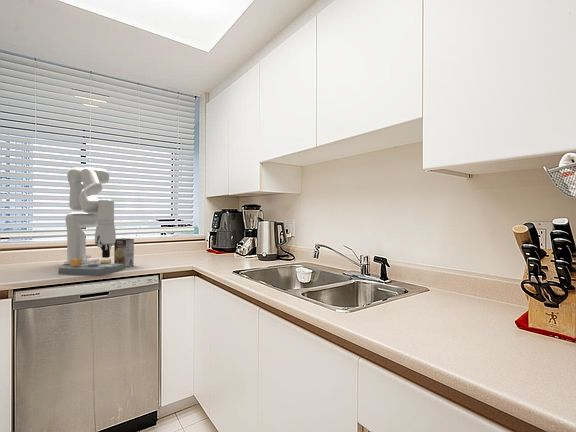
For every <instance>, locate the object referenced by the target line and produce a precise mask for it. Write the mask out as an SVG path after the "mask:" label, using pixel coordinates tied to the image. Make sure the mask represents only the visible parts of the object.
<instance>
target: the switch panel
mask: <svg viewBox="0 0 576 432" xmlns="http://www.w3.org/2000/svg"><path fill="white" fill-rule="evenodd" d="M123 269H125V270H126V267H125V264H114V263H110V264H101V262H96V263H91V264H85V263H83V264H82V265H81V266H70V265H69V266H68V265H67V266H63V267H58V274H59V275H74V274H77V275H79V276H81V275H82V276H103V275H107V274H112V273H115V272H119V271H120V270H121V271H124V270H123ZM77 275H76V276H77Z"/></svg>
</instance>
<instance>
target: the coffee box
mask: <svg viewBox="0 0 576 432" xmlns="http://www.w3.org/2000/svg"><path fill="white" fill-rule="evenodd" d="M113 247H114V249H113V250H114V253H113V255H114V257H113V258H114V260H113V261H114V263H113V264H125V268H127V266H128V267H132V266H131V265H133V266H134V261H135V259H134V258H135V256H134V255H135V253H134V252H135V238H124V237H123V238H116V241H115V243H114V245H113Z"/></svg>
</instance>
